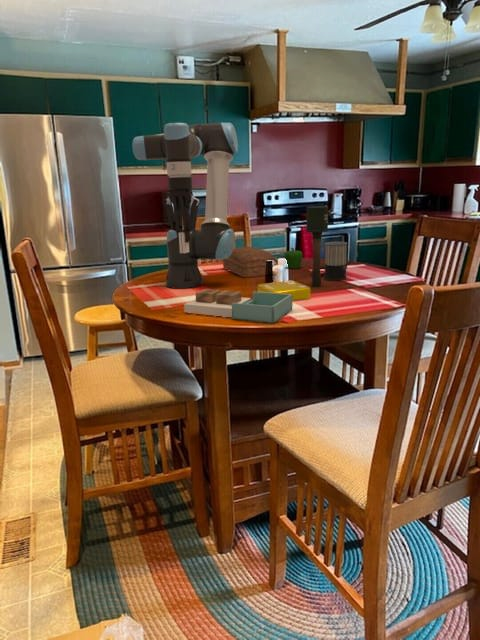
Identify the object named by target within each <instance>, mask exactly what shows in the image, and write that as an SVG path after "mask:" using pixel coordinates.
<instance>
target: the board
mask: <svg viewBox="0 0 480 640" xmlns="http://www.w3.org/2000/svg"><path fill="white" fill-rule="evenodd" d="M241 299H242V301H240V302H238V303H242V304H246V303H247V302H249V301H251V300H252V298H250V297H242V296H241ZM183 306H184V313H185V312H188V313H198V314H206V315H214V316H213V317H216V316H222V317H221V318H226V317H232V305H226V304H216V302H214V303H204V302H196V298H195V299H193V300H191V301H189V302H186V303H184V305H183ZM206 315H205V316H206Z"/></svg>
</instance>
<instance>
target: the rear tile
mask: <svg viewBox="0 0 480 640" xmlns="http://www.w3.org/2000/svg"><path fill="white" fill-rule="evenodd" d="M220 292H222V290H221V289H212V288H211V289H210V288H204V289H202V290H199V291H196V292H195V299H196V302H204V303H214V302H216V294H218V293H220Z"/></svg>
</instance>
